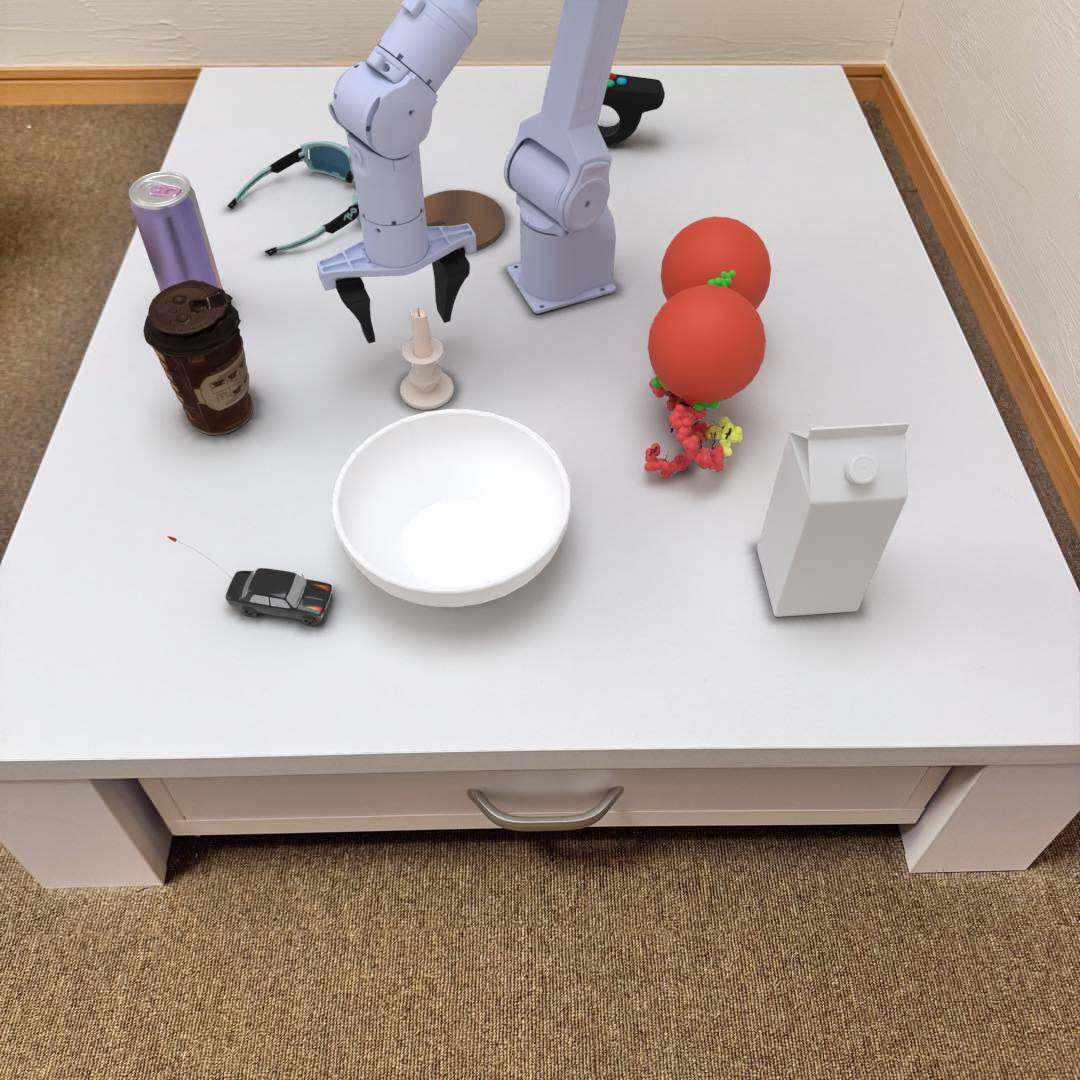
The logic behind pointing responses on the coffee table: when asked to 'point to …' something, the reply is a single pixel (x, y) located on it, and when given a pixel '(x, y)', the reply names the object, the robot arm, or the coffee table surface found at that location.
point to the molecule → (707, 334)
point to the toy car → (278, 594)
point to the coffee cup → (201, 354)
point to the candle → (424, 368)
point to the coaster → (466, 213)
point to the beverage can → (172, 229)
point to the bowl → (452, 507)
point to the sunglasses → (322, 160)
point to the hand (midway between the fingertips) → (406, 326)
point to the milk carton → (832, 516)
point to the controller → (629, 104)
